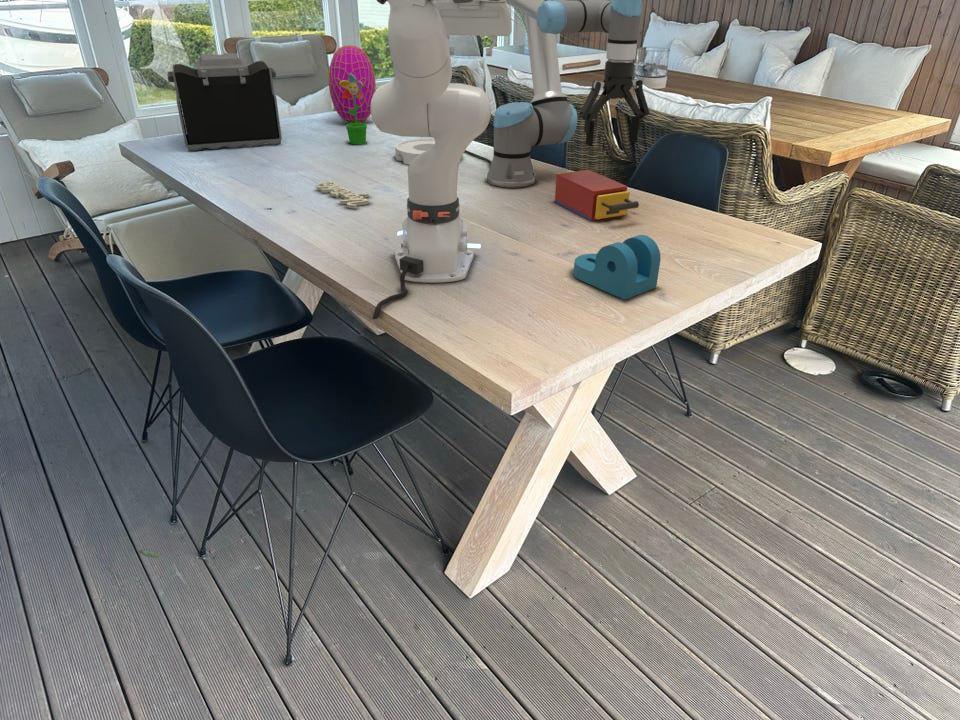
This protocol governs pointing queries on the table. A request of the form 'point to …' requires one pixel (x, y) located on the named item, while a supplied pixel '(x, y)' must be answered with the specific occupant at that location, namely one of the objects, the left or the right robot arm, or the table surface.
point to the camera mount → (621, 267)
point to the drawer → (613, 204)
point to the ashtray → (412, 149)
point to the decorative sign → (344, 194)
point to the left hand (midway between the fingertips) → (469, 55)
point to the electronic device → (226, 103)
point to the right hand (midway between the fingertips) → (611, 143)
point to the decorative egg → (340, 66)
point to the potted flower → (354, 129)
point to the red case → (583, 191)
